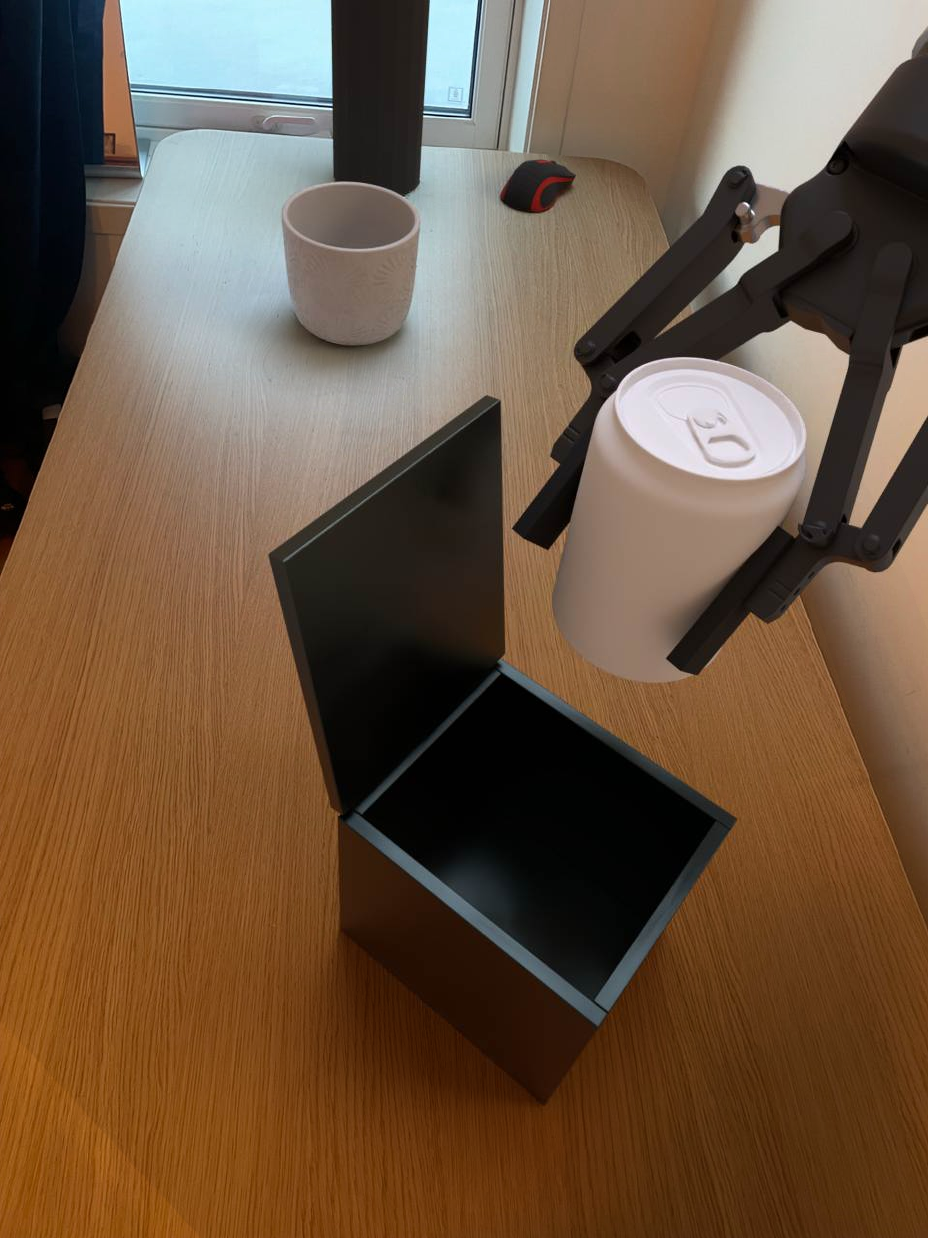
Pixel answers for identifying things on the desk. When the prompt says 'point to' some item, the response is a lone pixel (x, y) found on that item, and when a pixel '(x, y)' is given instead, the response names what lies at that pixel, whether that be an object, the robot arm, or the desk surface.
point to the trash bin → (521, 871)
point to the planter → (350, 260)
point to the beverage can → (672, 508)
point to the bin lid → (398, 600)
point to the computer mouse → (536, 185)
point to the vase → (378, 91)
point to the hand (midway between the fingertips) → (602, 600)
